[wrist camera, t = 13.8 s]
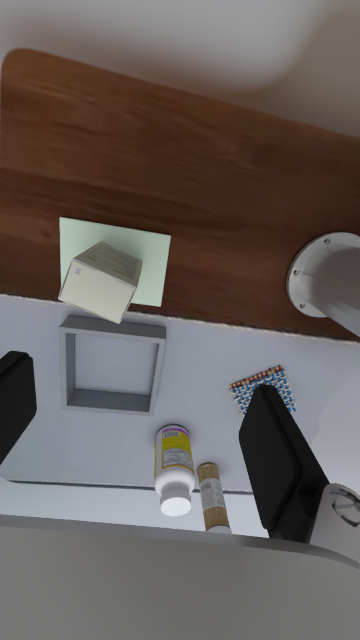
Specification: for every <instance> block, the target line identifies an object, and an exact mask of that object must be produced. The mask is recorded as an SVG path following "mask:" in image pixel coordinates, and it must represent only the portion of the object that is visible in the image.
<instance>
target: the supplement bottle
mask: <svg viewBox="0 0 360 640" xmlns="http://www.w3.org/2000/svg"><path fill="white" fill-rule="evenodd" d="M194 485H195V477H194V470H193V462H192V454H191V445H190V438H189V434H188V432H187V431H186V430H185V429H184V428H182V427H180V426H176V425H171V426H167V427H164V428H162V429H161V430H160V431H159V432H158V433H157V435H156V440H155V477H154V486H155V490H156V491H157V493H158V494H159V495H160V496H161V499H160V509H161V511H162V512H163V513H164V514H166V515H168V516H180V515H183V514H185V513H187V512H188V511H189V510H190V509H191V496H190V493H191V492H192V490H193V488H194Z"/></svg>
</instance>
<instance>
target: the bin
mask: <svg viewBox="0 0 360 640" xmlns="http://www.w3.org/2000/svg"><path fill="white" fill-rule="evenodd" d="M75 334H81V335H90V336H99V337H107V338H116V339H125V340H133V341H142V342H151V343H158V348H157V354H156V361H155V368H154V375H153V381H152V388H151V395H150V396H148V395H137V394H125V393H114V392H103V391H91V390H80V389H75ZM59 339H60V373H61V408H62V409H65V410H78V411H91V412H103V413H116V414H129V415H142V416H154V410H155V404H156V398H157V391H158V385H159V379H160V373H161V367H162V361H163V355H164V348H165V342H166V327H160V326H152V325H144V324H136V323H128V322H120V323H119V324H118V323H115V322H112V321H109V320H103V319H95V318H87V317H79V316H71V315H69V316H68V317H67V319H66V320H65V321H64V322H63V323H62V324H61V325H60V326H59Z"/></svg>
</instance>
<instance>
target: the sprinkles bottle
mask: <svg viewBox="0 0 360 640" xmlns="http://www.w3.org/2000/svg"><path fill="white" fill-rule="evenodd" d="M197 474H198V477H199V485H200V493H201V501H202V508H203V514H204V521H205V527H206V532H214V533H225V534H232V531H231V529H230V526H229V522H228V517H227V512H226V506H225V502H224V497H223V492H222V487H221V483H220V479H219V474H218V468H217V466H216V465H214V464H211V463H206V464H203V465H201V466H200V467H199V468H198V470H197Z"/></svg>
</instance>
